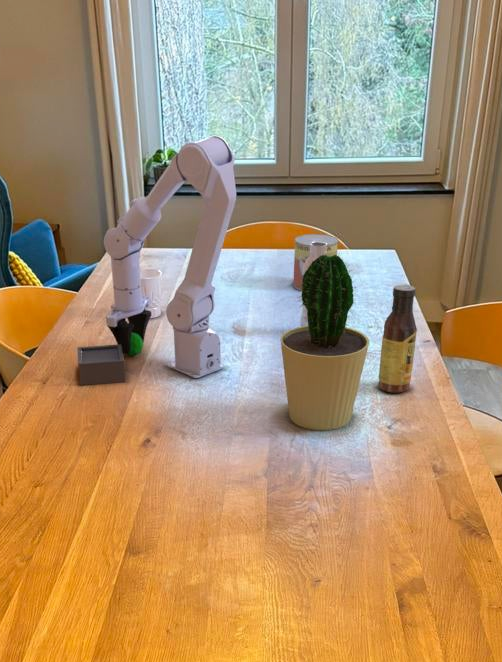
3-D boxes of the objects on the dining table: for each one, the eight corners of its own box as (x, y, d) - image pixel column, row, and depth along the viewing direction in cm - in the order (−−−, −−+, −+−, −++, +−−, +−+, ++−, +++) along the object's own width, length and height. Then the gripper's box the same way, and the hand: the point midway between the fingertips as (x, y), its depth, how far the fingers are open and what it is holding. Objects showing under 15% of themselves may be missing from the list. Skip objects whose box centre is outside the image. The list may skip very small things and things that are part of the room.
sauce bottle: (409, 395, 154) (422, 294, 143) (376, 393, 155) (387, 292, 144) (409, 382, 159) (422, 283, 148) (378, 379, 160) (388, 281, 149)
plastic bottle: (327, 328, 185) (333, 240, 174) (327, 338, 179) (333, 248, 169) (299, 327, 186) (303, 239, 175) (299, 337, 180) (303, 247, 169)
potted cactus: (367, 403, 151) (382, 241, 135) (356, 440, 138) (372, 267, 122) (287, 394, 154) (293, 236, 138) (269, 429, 142) (274, 260, 126)
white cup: (148, 322, 189) (146, 280, 184) (124, 315, 193) (121, 274, 188) (170, 313, 195) (168, 272, 189) (146, 307, 199) (143, 266, 193)
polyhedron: (116, 356, 171) (114, 335, 169) (128, 349, 175) (127, 328, 172) (135, 360, 170) (134, 339, 167) (148, 352, 173) (146, 331, 171)
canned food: (288, 290, 209) (290, 243, 202) (297, 277, 218) (299, 232, 211) (331, 293, 206) (334, 246, 200) (338, 281, 215) (341, 235, 209)
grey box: (122, 364, 168) (121, 344, 165) (125, 381, 160) (124, 360, 158) (79, 368, 166) (77, 347, 164) (80, 385, 159) (78, 363, 156)
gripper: (129, 274, 171) (133, 334, 178) (91, 293, 160) (97, 357, 168) (157, 278, 168) (160, 339, 176) (120, 298, 158) (126, 362, 165)
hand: (131, 348), depth 172 cm, fingers closed on polyhedron, 5 cm apart
